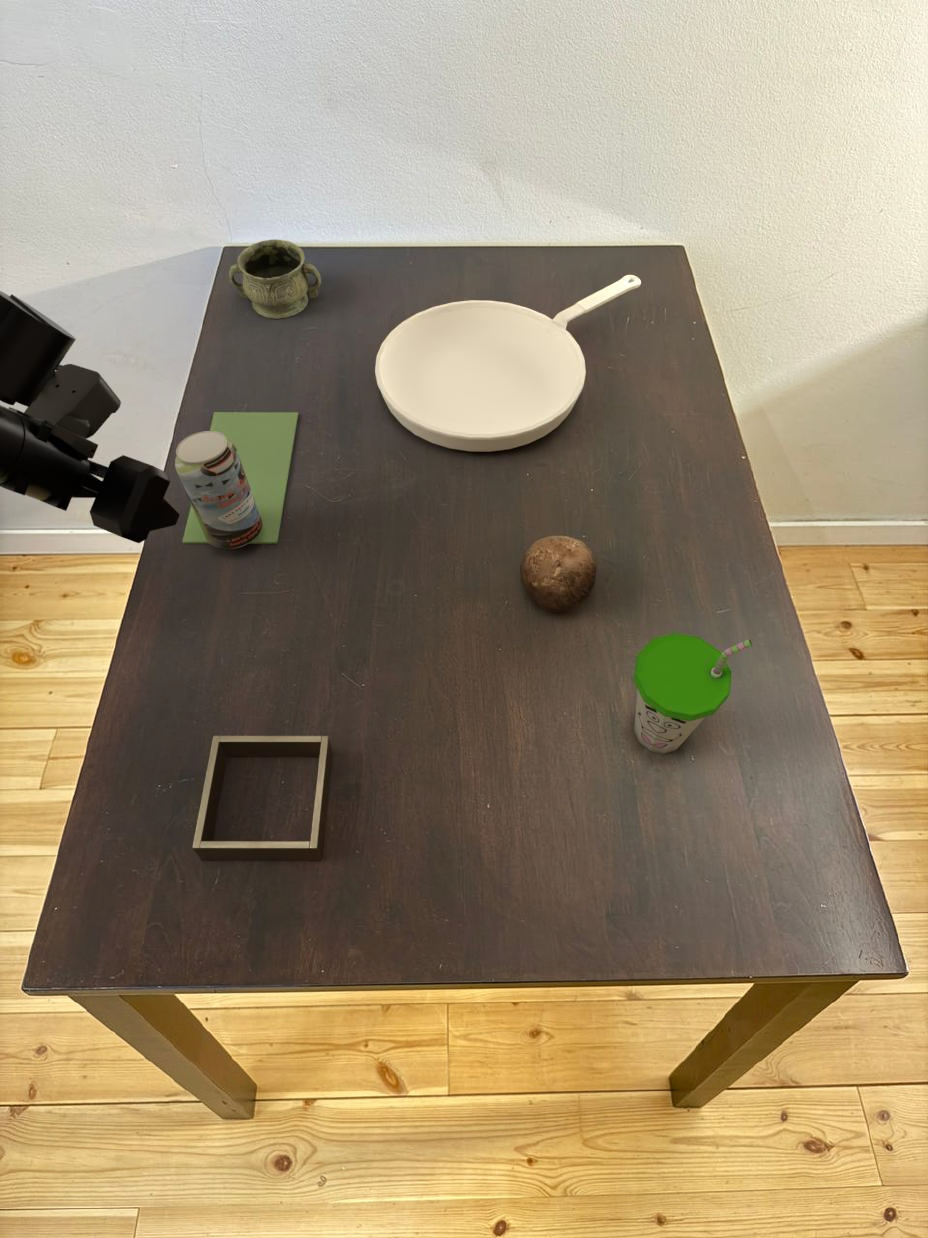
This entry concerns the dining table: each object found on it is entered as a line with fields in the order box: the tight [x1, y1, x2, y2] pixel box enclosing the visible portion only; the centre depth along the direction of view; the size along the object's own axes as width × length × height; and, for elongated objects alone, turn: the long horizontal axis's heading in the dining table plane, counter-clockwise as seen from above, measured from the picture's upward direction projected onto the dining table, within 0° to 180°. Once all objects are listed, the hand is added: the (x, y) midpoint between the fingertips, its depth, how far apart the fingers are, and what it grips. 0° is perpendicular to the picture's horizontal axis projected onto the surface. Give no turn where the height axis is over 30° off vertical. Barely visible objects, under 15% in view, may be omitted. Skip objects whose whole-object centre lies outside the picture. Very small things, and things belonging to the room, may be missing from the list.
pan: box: [374, 274, 642, 453], centre depth 104 cm, size 25×39×4 cm, turn 129°
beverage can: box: [174, 430, 262, 550], centre depth 85 cm, size 6×7×12 cm
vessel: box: [228, 238, 322, 320], centre depth 111 cm, size 12×9×6 cm
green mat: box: [181, 411, 299, 545], centre depth 95 cm, size 10×20×1 cm, turn 0°
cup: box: [632, 632, 753, 755], centre depth 71 cm, size 8×8×15 cm
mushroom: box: [519, 535, 598, 613], centre depth 84 cm, size 8×8×6 cm
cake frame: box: [192, 735, 334, 861], centre depth 72 cm, size 10×10×3 cm
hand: (140, 505), depth 79 cm, fingers open, 9 cm apart
